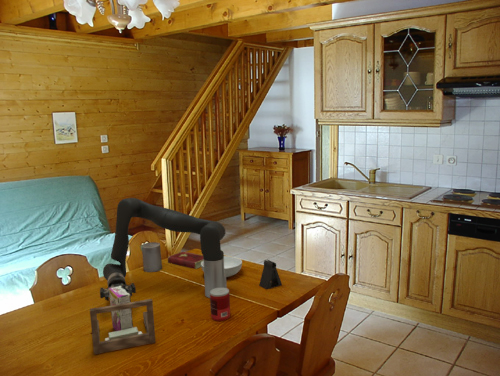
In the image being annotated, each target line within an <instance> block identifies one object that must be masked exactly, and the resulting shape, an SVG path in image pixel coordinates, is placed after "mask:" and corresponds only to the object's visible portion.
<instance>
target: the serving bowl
mask: <svg viewBox="0 0 500 376" xmlns="http://www.w3.org/2000/svg"><path fill="white" fill-rule="evenodd" d="M242 265H243V260H242V259H241V258H238V257H235V256H228V255H224V270H225V275H226V278H230V277H232V276H235V275H236V274H237V273H238V272H240V271H241V269H242ZM200 268H201V270H202V272H204V261H202V262H201V267H200Z"/></svg>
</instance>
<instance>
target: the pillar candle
mask: <svg viewBox="0 0 500 376" xmlns="http://www.w3.org/2000/svg"><path fill="white" fill-rule="evenodd" d="M141 250H142V262H143V263H142V264H143V271H144V272H146V273H154V272H155V273H156V272H159V271H161V270H162V269H163V264H162V262H163V261H162V253H161V243H160V242H156V241H154V242H152V241H151V242H147V243H143V244H142V245H141Z"/></svg>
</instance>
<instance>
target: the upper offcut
mask: <svg viewBox="0 0 500 376" xmlns="http://www.w3.org/2000/svg"><path fill="white" fill-rule="evenodd" d="M138 332H139V330H138V327H137V326H133V328H129V329H125V330H120V331H115V330H114V331H111V332H108V338H109V340H112V339H117V338H123V337H128V336H133V335H138Z"/></svg>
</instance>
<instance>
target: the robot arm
mask: <svg viewBox="0 0 500 376" xmlns="http://www.w3.org/2000/svg"><path fill="white" fill-rule="evenodd" d="M133 218H139V219H145V220H147V221H151V222H153V224H155V225H156V226H158V227H160V228H162V229H164V230H168V231H172V232H176V233H192V234H195V235H199V240H200V241H199V242H200V251H201V255H203V261H204V271H203V274H204V275H203V276H204V277H203V278H204V295H205V297H206V298H208V299H210V291H211V290H212V289H215V288H227V289H228V287H227V286H228V285H227V277H226V275H225V270H224V256H225V254H224V251H223V250H222V249H221V247H222V246H221V240H222V239H224V237H225V236H226V228H225V226H224V225H223V224H222V223H220V222H218V221H215V220H209V219H203V218H199V217H195V216H192V215H189V214H186V213H183V212H180V211H179V210H175V209H170V208H167V207H162V206H159V205H158V206H157V205H154V204H151V203H148V202H146V201H144V200H142V199H138V198H136V197H128V198H123V199H121V200H120V201H119V202H118V204H117V207H116V220H115V233H114V240H113V244H112V249H111V253H110V258H111V259H112V260H113V261H116V262H118V263H117V264H116V263H106V264H105V265H104V267H103V269H102V275H103V278H104V279H105V280H106V281H107V288H104V287H100V289H99V298H100V299H103V298H104V300H105V301H106V302H108V301H109V302H110V295H109V288H113V287H117V286H122V287H123V288H124V289H125V290H126V291H127V292H128V293H129V294H130V298H131V297H133V294H136V293H137V291H136V285H135V283H134V282H131V283H130V284H129V285H128V284H127V283H126V279H125V277H126V276H127V264H126V263H127V262H126V261H127V255H128V250H129V246H130V240H129V239H130V238H129V226H130V222H131V219H133Z"/></svg>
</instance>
